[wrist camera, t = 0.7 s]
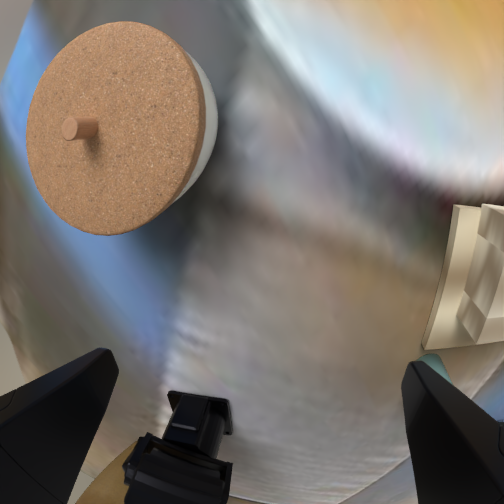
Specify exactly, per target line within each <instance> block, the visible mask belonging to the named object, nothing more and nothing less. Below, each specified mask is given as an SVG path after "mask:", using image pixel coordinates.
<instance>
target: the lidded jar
mask: <svg viewBox="0 0 504 504" xmlns="http://www.w3.org/2000/svg"><path fill="white" fill-rule="evenodd" d="M217 130H218V110H217V102H216V98H215V95H214V92H213V89H212V86H211V84H210V82H209V80H208V78H207V76H206V74H205V72H204V71H203V70H202V68H201V67H200V66H199V65H198V63H197V62H196V61H195V60H194V58H193V57H192V56H190V55H189V54H188V53H187V52H186V51H185V50H183V48H182V47H181V46H180V45H179V44H178V43H176V42H175V41H174V40H173V39H172V38H170V37H169V36H168V35H166V34H165V33H163V32H161V31H159V30H157V29H155V28H153V27H151V26H149V25H146V24H142V23H138V22H125V21H120V22H113V23H107V24H104V25H101V26H98V27H95V28H93V29H91V30H89V31H87V32H85V33H83V34H81V35H79V36H78V37H77V38H75V39H74V40H73V41H71V42H70V43H69V44H67V45H66V46H65V47H64V48H63V49H62V50H61V51H60V52H59V53H58V54H57V55H56V57H55V58H54V59H53V60H52V62H51V63H50V64H49V66H48V67H47V69H46V70H45V72H44V74H43V75H42V77H41V79H40V81H39V83H38V85H37V87H36V90H35V92H34V95H33V98H32V101H31V104H30V108H29V114H28V119H27V128H26V147H27V156H28V162H29V166H30V170H31V173H32V176H33V179H34V181H35V184H36V186H37V189H38V190H39V192H40V194H41V195H42V197H43V199H44V200H45V202H46V203H47V204H48V206H49V207H50V208H51V210H52V211H53V212H55V213H56V214H57V215H58V216H59V217H60V218H61V219H62V220H64V221H65V222H66V223H68V224H69V225H71V226H73V227H75V228H77V229H79V230H81V231H83V232H87V233H91V234H95V235H106V236H110V235H118V234H123V233H127V232H130V231H133V230H135V229H137V228H139V227H141V226H143V225H145V224H146V223H148V222H150V221H152V220H153V219H154V218H156V217H157V216H158V215H159V214H161V213H162V212H163V211H164V210H166V209H167V208H168V207H169V206H170V205H171V204H172V203H173V202H175V201H176V200H177V199H179V198H180V197H181V196H182V195H183V194H184V193H185V192H186V191H187V190H188V189H189V188H190V187H191V186H192V185H193V184H194V182H195V181H196V180H197V178H198V177H199V176H200V174H201V173H202V171H203V170H204V168H205V166H206V164H207V162H208V160H209V158H210V156H211V154H212V151H213V148H214V145H215V142H216V136H217Z"/></svg>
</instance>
